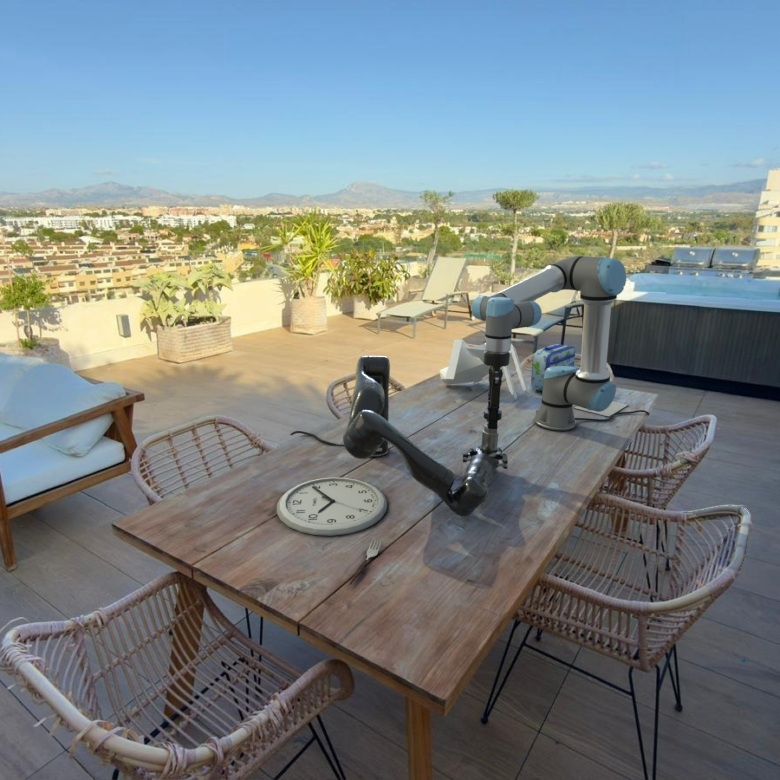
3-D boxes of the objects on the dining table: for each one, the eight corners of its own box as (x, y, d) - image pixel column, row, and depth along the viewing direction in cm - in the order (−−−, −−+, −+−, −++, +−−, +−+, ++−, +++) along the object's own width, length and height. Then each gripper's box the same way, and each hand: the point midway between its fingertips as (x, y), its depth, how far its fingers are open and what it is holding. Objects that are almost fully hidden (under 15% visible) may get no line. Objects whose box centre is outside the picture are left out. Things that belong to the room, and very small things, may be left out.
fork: (344, 585, 111) (344, 577, 110) (372, 544, 125) (372, 537, 125) (355, 588, 110) (355, 580, 109) (382, 546, 124) (382, 539, 124)
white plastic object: (461, 429, 252) (437, 405, 227) (444, 352, 274) (420, 323, 250) (535, 404, 240) (518, 377, 215) (510, 326, 262) (492, 293, 237)
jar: (479, 473, 163) (482, 427, 158) (479, 466, 167) (483, 422, 163) (495, 475, 162) (499, 429, 157) (495, 468, 167) (499, 423, 162)
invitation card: (608, 416, 214) (573, 407, 224) (608, 416, 214) (573, 408, 224) (628, 404, 229) (594, 396, 238) (628, 405, 229) (594, 397, 238)
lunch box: (547, 396, 238) (552, 351, 232) (526, 391, 246) (531, 347, 239) (574, 385, 256) (579, 343, 250) (554, 380, 263) (559, 340, 257)
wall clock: (392, 527, 129) (268, 531, 127) (391, 533, 130) (269, 537, 127) (383, 473, 158) (282, 475, 155) (383, 478, 158) (282, 480, 156)
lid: (496, 414, 163) (496, 407, 162) (504, 420, 158) (505, 413, 157) (480, 415, 161) (481, 408, 161) (488, 421, 156) (488, 414, 156)
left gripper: (455, 478, 153) (467, 456, 169) (504, 487, 149) (512, 463, 164) (456, 455, 151) (468, 434, 166) (506, 463, 147) (514, 441, 162)
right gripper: (482, 343, 162) (478, 413, 169) (485, 358, 145) (480, 435, 152) (507, 344, 161) (502, 415, 169) (512, 359, 144) (506, 437, 151)
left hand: (490, 449), depth 165 cm, fingers closed on jar, 5 cm apart
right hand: (491, 424), depth 160 cm, fingers closed on lid, 5 cm apart
